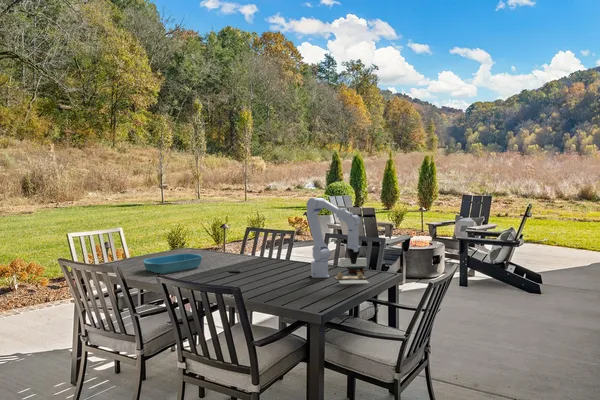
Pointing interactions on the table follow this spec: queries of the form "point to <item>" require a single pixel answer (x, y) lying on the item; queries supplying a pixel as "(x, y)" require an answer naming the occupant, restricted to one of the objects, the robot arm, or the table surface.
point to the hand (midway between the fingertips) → (353, 263)
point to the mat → (354, 282)
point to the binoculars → (356, 268)
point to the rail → (347, 262)
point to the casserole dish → (172, 263)
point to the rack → (359, 276)
